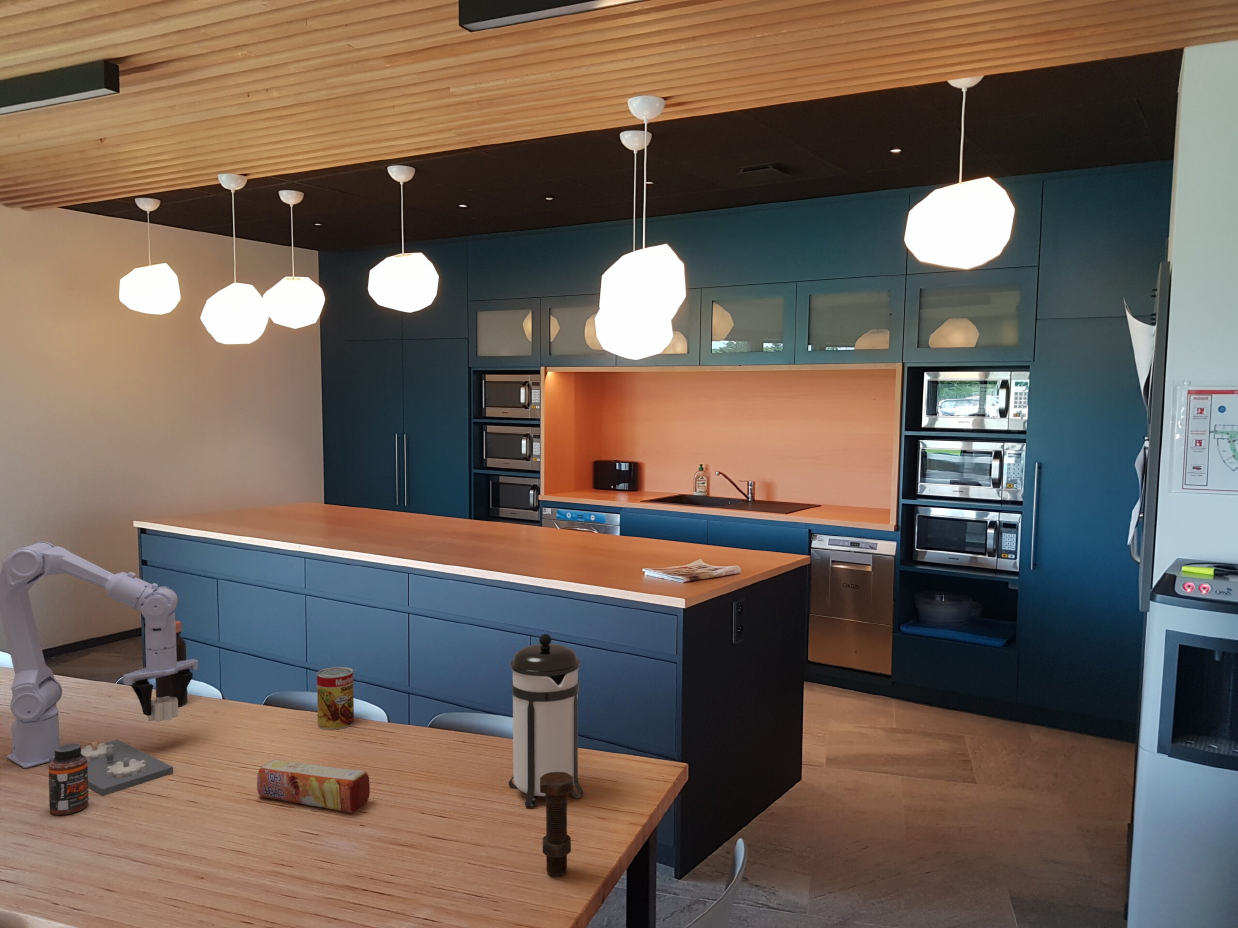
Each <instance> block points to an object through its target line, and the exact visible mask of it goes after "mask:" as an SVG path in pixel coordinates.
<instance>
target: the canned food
mask: <svg viewBox="0 0 1238 928" xmlns="http://www.w3.org/2000/svg"><path fill="white" fill-rule="evenodd" d="M316 687H317V688H316V692H317V695H316V698H317V699H316V700H317V727H318V728H320V729H322V730H327V731H329V730H330V731H334V730H342V729H345V728H348V727H350V726H352V725H353V724H354V722H355V716H354V715H355V712H354V711H355V710H354V708H355V706H354V705H355V702H354V700H355V699H354V670H353V668H350V667H346V666H334V667H327V668H324V669H320V670H318V671H317V672H316Z"/></svg>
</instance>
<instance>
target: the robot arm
mask: <svg viewBox="0 0 1238 928" xmlns="http://www.w3.org/2000/svg"><path fill="white" fill-rule="evenodd" d="M1 566H2V567H1V571H0V618H1V622H2V623H1V624H2V626H3V630H4V634H5V639H6V642H7V645H8V646H7V647H8V651H9V654H10V660H11V662H12V668H13V671H14V678H13V681H12V684H11V688H10V689H11V692H12V693H11V694H12V698H11V701H10V704H9V705H10V711H11V713H12V716H14V717H15V718H14V720H13V722H12V723H11V728H10V729H11V747H12V748H11V750H12V753H11V754H8V755H7V756H6V758H7V759H8V760H10V761H12V762H13V763H16V765H18V766H19V767H22V768H23V769H28V768H32V767H35V766H39V765H42V764H45V763H46V764H47V763H49V758H53V757H55V756H54V755H55V748H57V747H58V746H61V745H60V742H61V741H60V722H59V720H60V719H59V716H60V715H59V708H58V707H57V703H58V702H59V701H60V700H61V699H62V696H63V687H62V684H61V683H60V682H59V681H58V680H57V679H56V678H55V676H54V672H53V670H52V669H51V667H50V666H48V665H47V664H46V661H45V657H44V652H43V649H42V645H41V641H40V636H39V632H38V629H37V624H36V623H37V622H36V620H35V615H34V612H33V608H32V607H33V606H32V603H31V600H30V595H29V591H30V589H31V588H32V587H33V586H34V585H35V584H36V582H37V581H38V580H39V578H41V577H42V576H43V577H44V576H53V575H60V574H66V575H69V576H71V577H74V578H76V579H79V580H82V581H83V582H86V583H89V584H92V585H94V586H96V587H97V586H98V587H100V588H102V589H104V591H105V593H106V596H107V597H108V598H110V599H112V600H114V601H116V602H119V603H121V604H123V605H126V606H128V607H131V608H132V609H135V610H137V611H140V613H141V615H142V616H143V617H144V618H145V619H144V620H145V621H144V622H145V623H144V624H145V625H144V626H145V627H144V635H145V636H144V637H145V641H144V642H145V667H144V668H140V669H138V670H135V671H132V672H129V673H125V674H122V676H123V684H124V685H125V686H130V687H131V688H132V690H133V692H134V693H135V696H136V697H137V699H138V701H139V703H140V706H141V710H142V714H143V715H145V716H146V717H148V716H149V715H151V712H152V707H151V700H152V694H153V688H154V685H153V684H151V683H150V681H149V680H155V678H158V677H162V676H167V675H171V679H172V684H173V697H177V699H178V708H182V707H183V705H182V703H183V699H184V695H185V692H186V689H187V690H188V687H189V685H190V683H191V681H192V679H193V678H194V677H193V675H194V673H193V672H191V671H195V670H198V669H199V660H197V659H194V658H192V659H191V658H190V659H186V660H185V661H178V662H177V655H176V623H175V621H176V611H175V609H176V608H177V606H178V603H179V598H178V595H177V593H176V592H175V591H174V590H173V589H171V588H170V587H169V586H159V584H158V583H155V582H153V583H150V582H147V581H146V580H143V579H141V578H138V577H136V576H137V573H135V572H132V571H130V572H128V573H127V572H125V571H121V572H118V573H115V574H114V573H112V572H110V571H108V570H106V569H104V568H103V567H100V566H98V565H97V564H94V563H93V562H90V561H89V560H87V559H84V558H82V557H80V556H78V555H77V554H75V553H73V552H71V551H69V550H68V549H66V548H64V547H62V546H58V545H54V544H52V543H51V542H48V541H36V542H34V543H32V544H31V545H28V546H25V547H19V548H17V549H15V550H13V551H12V552H11V553H10V554H9V555H8V556H7V557H6V558H5V559H4V560H3V561H2V562H1ZM158 586H159V587H158Z"/></svg>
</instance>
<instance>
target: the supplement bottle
mask: <svg viewBox="0 0 1238 928" xmlns="http://www.w3.org/2000/svg"><path fill="white" fill-rule="evenodd" d="M81 749H82V746H81V744H80V743H76V742H73V743H65V744H62V745H60V746H58V747H57V748H55V755H54V756H55V758H54V760H52V761H51V762H50V764H49V763H48V795H49V798H48V800H49V801H48V802H49V804H48V805H49V812H50V813H51V814H53V815H56V816H57V815H58V816H59V815H60V816H65V815H66V816H67V815H71V814H74V813H77V812H78V813H79V812H80V811H83V809H85V808H86V807H87V806H88V805H89V787H88V766H87V758H86V757H85V756H84V755H82V754H81Z"/></svg>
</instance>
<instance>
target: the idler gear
mask: <svg viewBox="0 0 1238 928" xmlns="http://www.w3.org/2000/svg"><path fill="white" fill-rule="evenodd" d="M151 707H152V712H151V715H149V716H147V721H149V722H153V721H154V722H156V723H159V722H163V721H171V720H172V719H173V718H178V716H179V707H178V699H177V697H170V696H165V697H163V698H156V697H154V698H153V699H151Z"/></svg>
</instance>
